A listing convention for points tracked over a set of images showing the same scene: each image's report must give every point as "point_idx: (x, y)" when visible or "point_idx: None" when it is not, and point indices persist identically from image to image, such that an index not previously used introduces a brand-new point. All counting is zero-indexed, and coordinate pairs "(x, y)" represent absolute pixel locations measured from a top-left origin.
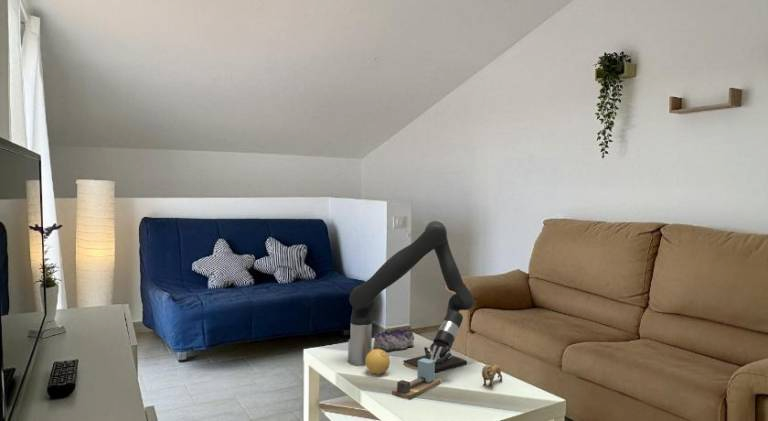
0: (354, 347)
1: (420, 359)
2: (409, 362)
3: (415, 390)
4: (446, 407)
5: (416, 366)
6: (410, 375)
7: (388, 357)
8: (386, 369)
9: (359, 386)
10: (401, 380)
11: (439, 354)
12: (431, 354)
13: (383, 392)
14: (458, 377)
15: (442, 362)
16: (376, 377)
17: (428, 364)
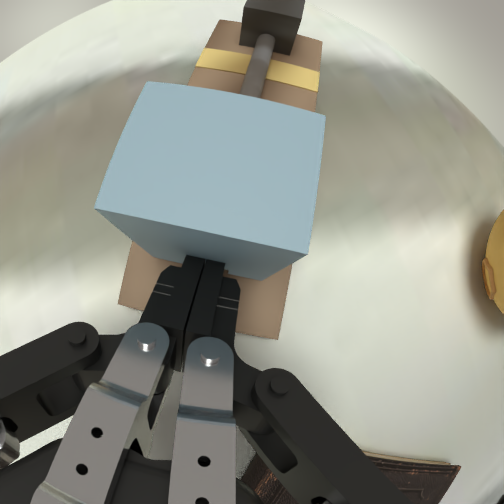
0: None
1: (317, 165)
2: (430, 474)
3: (217, 61)
4: (63, 50)
5: (382, 459)
6: (375, 350)
7: None
8: (489, 263)
9: (453, 101)
10: (299, 13)
11: (72, 430)
12: (227, 426)
13: (358, 64)
14: None
15: (72, 384)
16: (478, 218)
17: (158, 90)
